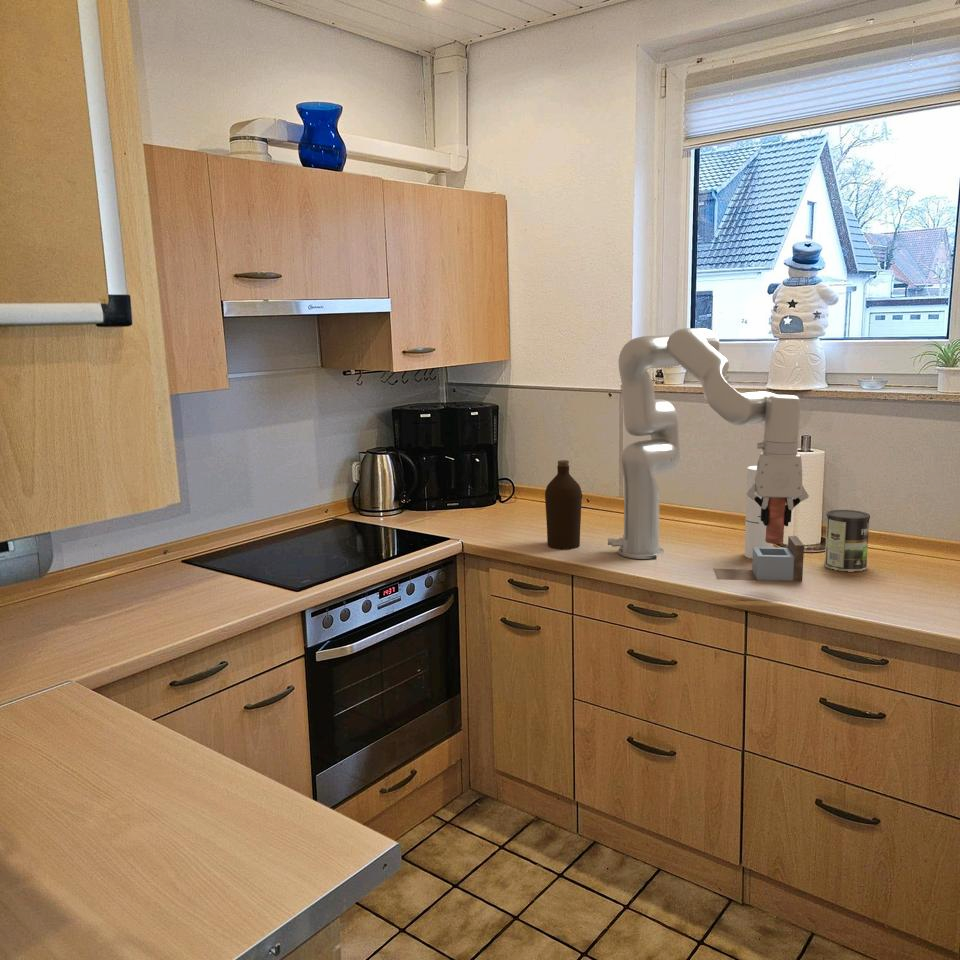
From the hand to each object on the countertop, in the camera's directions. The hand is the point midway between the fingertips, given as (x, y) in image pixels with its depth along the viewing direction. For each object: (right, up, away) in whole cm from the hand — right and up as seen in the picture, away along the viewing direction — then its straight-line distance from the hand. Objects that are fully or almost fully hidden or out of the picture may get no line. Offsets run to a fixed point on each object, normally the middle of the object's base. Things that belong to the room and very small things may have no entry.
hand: (775, 523), depth 201 cm
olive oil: (-45, -9, +47) cm, 66 cm away
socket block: (+3, -13, +10) cm, 17 cm away
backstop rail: (-1, -14, +11) cm, 18 cm away
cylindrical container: (+5, -11, +28) cm, 31 cm away
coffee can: (+25, -12, +20) cm, 34 cm away
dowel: (0, -4, +1) cm, 4 cm away
